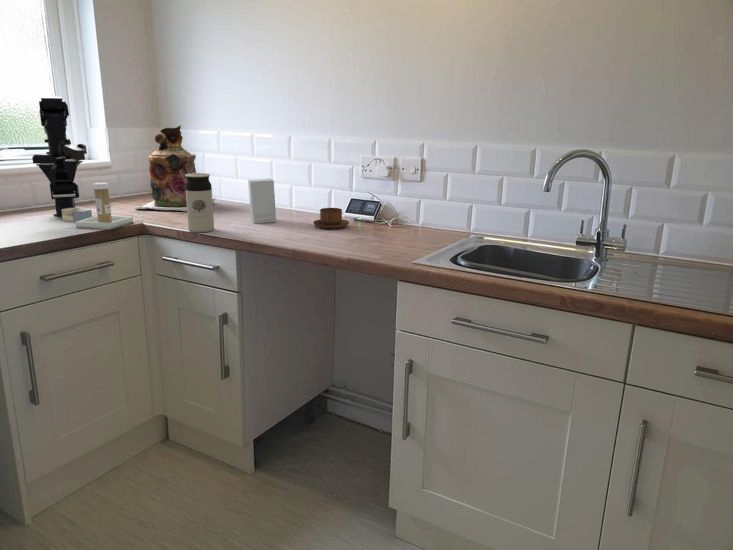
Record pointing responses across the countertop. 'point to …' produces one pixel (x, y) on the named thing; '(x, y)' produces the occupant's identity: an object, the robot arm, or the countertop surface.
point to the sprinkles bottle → (102, 202)
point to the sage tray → (94, 223)
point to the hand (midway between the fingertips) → (63, 183)
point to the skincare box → (262, 200)
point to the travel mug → (199, 202)
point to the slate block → (82, 214)
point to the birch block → (68, 214)
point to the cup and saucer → (331, 219)
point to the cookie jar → (169, 172)
